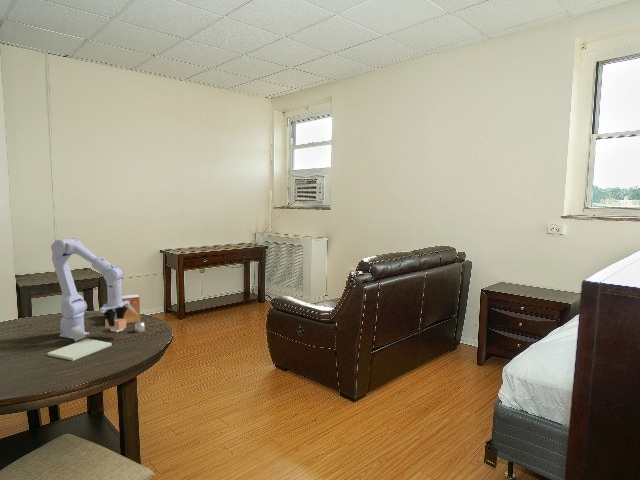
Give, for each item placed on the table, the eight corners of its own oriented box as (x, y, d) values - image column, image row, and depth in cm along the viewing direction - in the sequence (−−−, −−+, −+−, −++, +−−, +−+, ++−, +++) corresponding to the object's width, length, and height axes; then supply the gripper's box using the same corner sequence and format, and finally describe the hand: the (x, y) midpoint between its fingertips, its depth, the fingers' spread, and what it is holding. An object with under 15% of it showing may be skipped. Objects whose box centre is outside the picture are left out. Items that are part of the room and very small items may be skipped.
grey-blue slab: (68, 330, 180) (71, 328, 179) (77, 327, 183) (79, 325, 183) (75, 342, 179) (77, 339, 178) (83, 339, 182) (86, 336, 182)
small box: (123, 324, 204) (122, 298, 203) (120, 321, 209) (120, 295, 208) (140, 321, 209) (139, 296, 207) (138, 318, 214) (137, 293, 213)
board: (47, 355, 164) (47, 352, 164) (87, 340, 180) (87, 338, 180) (73, 360, 159) (73, 358, 159) (111, 345, 176) (111, 343, 175)
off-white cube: (110, 331, 194) (110, 322, 194) (117, 328, 198) (117, 320, 198) (116, 332, 193) (116, 323, 192) (123, 329, 196) (123, 321, 196)
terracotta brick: (105, 327, 184) (105, 319, 184) (112, 325, 188) (112, 317, 187) (119, 330, 181) (118, 321, 181) (126, 327, 185) (126, 319, 185)
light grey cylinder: (133, 332, 193) (133, 323, 193) (140, 329, 197) (139, 321, 196) (140, 333, 192) (140, 324, 191) (146, 330, 195) (146, 322, 195)
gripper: (107, 299, 175) (109, 330, 176) (134, 292, 188) (135, 321, 190) (95, 297, 177) (96, 328, 179) (122, 290, 191) (123, 319, 192)
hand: (115, 324), depth 184 cm, fingers closed on terracotta brick, 4 cm apart
